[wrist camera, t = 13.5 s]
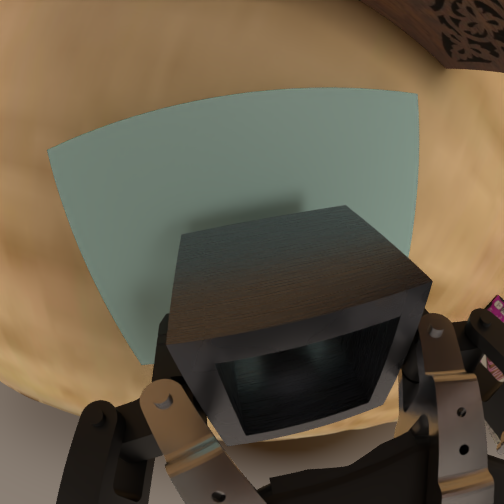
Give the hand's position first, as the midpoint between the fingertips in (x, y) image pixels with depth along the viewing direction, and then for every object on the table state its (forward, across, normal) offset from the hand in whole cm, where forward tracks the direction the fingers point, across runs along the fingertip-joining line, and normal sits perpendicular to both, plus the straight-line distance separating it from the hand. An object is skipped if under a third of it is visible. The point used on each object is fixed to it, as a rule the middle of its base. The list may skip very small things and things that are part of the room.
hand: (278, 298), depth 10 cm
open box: (+1, 0, 0) cm, 1 cm away
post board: (+6, 0, 0) cm, 6 cm away
